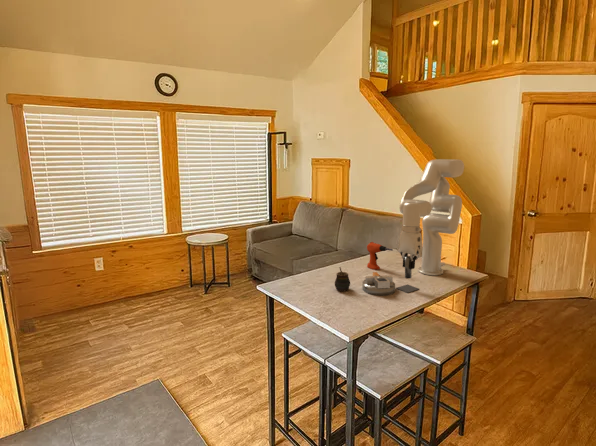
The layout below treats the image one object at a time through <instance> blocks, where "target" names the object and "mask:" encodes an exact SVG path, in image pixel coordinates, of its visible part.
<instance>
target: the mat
mask: <svg viewBox="0 0 596 446" xmlns="http://www.w3.org/2000/svg"><path fill="white" fill-rule="evenodd" d="M395 290H398V291H401V292H404V293H406V294H410V293H413V292H417V291H419V290H420V288H418V287H416V286H412V285H410V284H405V285H401V286H398V287H395Z"/></svg>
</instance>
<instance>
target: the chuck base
mask: <svg viewBox="0 0 596 446" xmlns="http://www.w3.org/2000/svg"><path fill="white" fill-rule="evenodd" d="M361 288H362V291H363V292H364V293H366V294H368V295H372V296H381V297H383V296H391V295H393V294H394V293H395V292H396V283H395V282H394V281H392V283H390V288H379V289H378V288H377V287H376V286H375V285H374V284H366V283H365V279H364V280H363V281H362V287H361Z"/></svg>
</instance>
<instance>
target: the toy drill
mask: <svg viewBox="0 0 596 446" xmlns="http://www.w3.org/2000/svg"><path fill="white" fill-rule="evenodd" d="M366 250H367V251H368V252H369V262H368V263H367V266H366V267H367V268H368V269H370V270H373V271H377V270H380V268H381V266H379V264H378V263H377V260H378V259H379V257H378V255H377V253H380V252H385V251H394V249H393V248H388V247H387V246H384V245H381V244H379V243H375V242H373V241H371V242H370V243H369V242H368V244H367V245H366Z"/></svg>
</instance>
